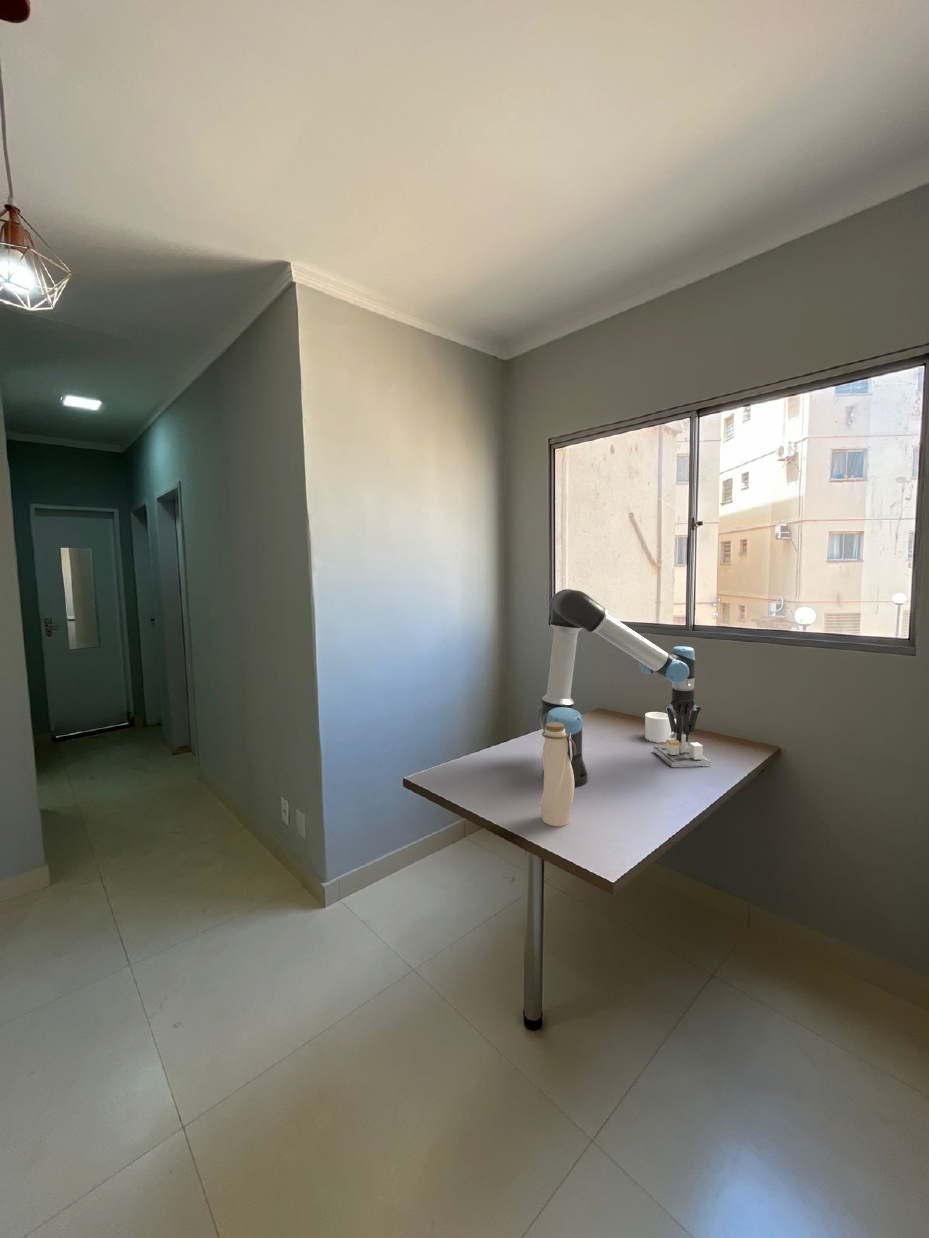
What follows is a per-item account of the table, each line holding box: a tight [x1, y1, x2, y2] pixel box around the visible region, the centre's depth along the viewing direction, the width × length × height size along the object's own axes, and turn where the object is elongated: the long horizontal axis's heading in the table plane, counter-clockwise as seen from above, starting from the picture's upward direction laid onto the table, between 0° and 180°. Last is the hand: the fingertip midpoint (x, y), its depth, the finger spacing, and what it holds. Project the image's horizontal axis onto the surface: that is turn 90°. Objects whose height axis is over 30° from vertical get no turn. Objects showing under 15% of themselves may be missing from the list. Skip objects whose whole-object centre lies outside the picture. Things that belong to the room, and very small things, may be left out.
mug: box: [644, 711, 676, 742], centre depth 208 cm, size 13×10×10 cm
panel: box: [652, 745, 711, 768], centre depth 187 cm, size 14×16×2 cm
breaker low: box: [689, 742, 704, 760], centre depth 181 cm, size 3×4×5 cm
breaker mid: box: [666, 737, 679, 755], centre depth 186 cm, size 3×4×5 cm
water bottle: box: [540, 722, 576, 827], centre depth 142 cm, size 10×9×28 cm
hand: (681, 750), depth 186 cm, fingers closed
